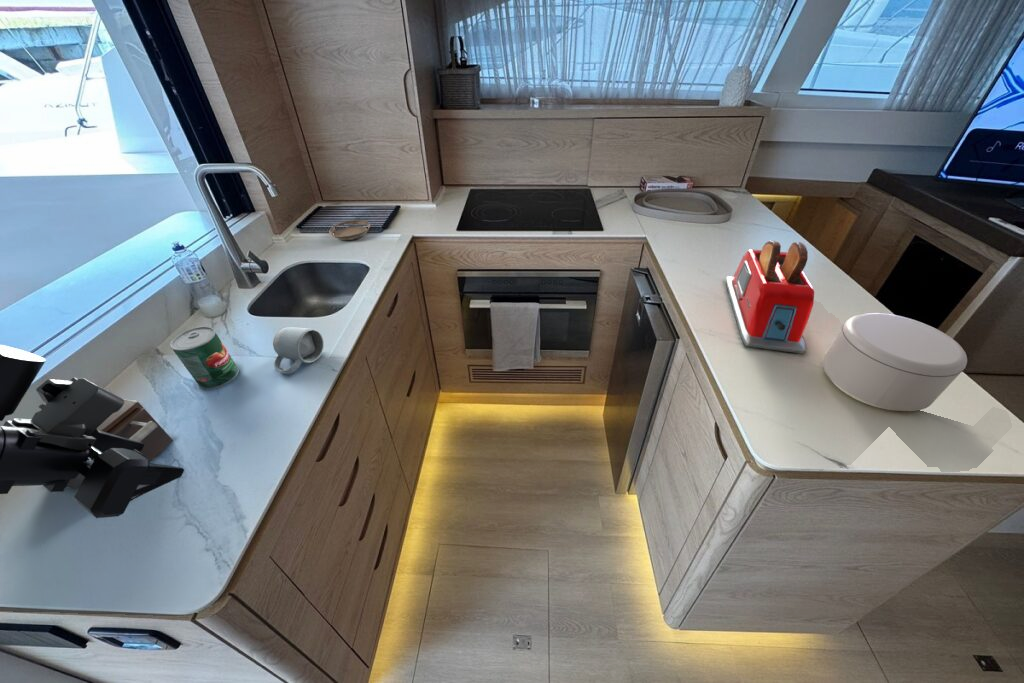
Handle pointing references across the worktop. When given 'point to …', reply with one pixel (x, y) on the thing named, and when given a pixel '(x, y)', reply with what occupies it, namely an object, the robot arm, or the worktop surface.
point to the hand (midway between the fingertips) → (161, 459)
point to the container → (893, 361)
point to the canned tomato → (205, 357)
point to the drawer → (143, 432)
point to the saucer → (350, 230)
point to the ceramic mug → (297, 347)
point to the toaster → (772, 297)
